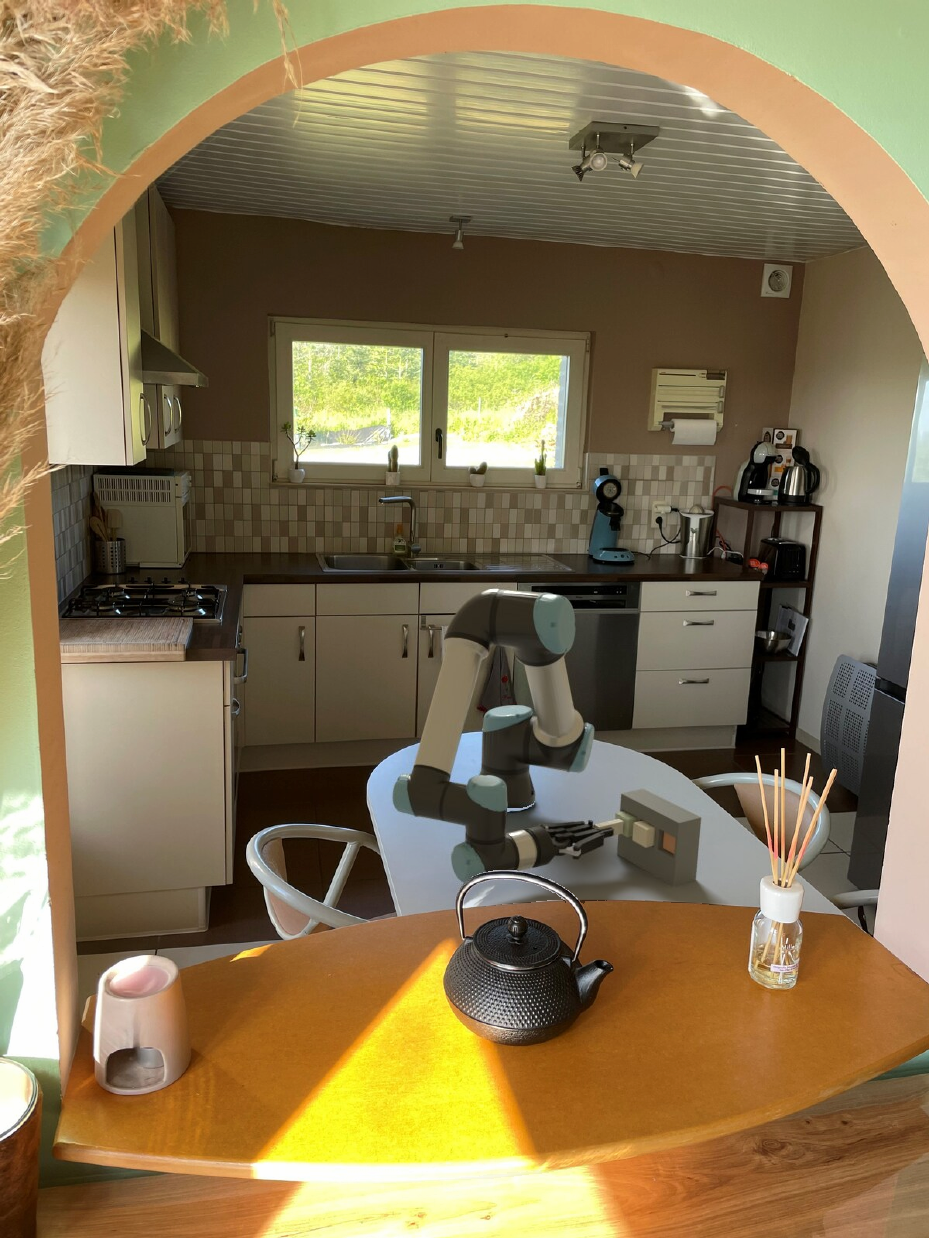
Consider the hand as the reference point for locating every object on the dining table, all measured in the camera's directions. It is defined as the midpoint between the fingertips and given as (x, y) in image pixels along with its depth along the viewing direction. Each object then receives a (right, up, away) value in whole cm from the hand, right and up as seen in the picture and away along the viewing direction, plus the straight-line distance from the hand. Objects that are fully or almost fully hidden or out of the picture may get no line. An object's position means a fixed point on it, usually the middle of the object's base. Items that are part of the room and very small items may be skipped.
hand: (620, 826), depth 192 cm
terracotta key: (+10, -3, -6) cm, 12 cm away
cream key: (+5, -3, -3) cm, 6 cm away
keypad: (+7, -9, 0) cm, 11 cm away
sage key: (+2, -2, +2) cm, 3 cm away
